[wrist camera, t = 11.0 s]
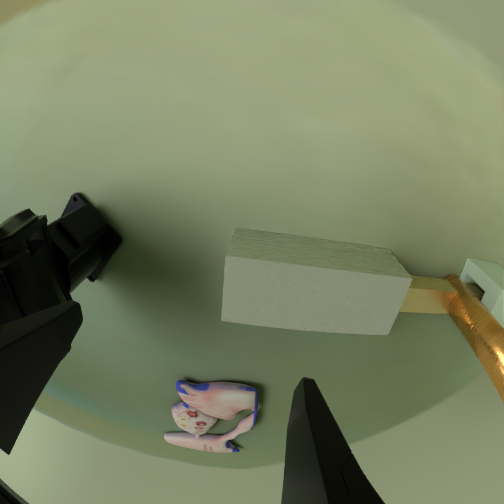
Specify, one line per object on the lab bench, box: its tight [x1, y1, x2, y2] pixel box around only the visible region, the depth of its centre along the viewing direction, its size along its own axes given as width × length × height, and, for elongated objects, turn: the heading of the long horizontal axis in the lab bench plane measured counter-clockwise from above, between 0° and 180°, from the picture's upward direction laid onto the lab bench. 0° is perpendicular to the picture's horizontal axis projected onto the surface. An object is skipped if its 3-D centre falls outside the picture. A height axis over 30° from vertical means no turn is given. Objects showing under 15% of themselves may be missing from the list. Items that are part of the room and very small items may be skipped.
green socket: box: [459, 258, 504, 328], centre depth 19 cm, size 6×6×6 cm
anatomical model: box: [164, 380, 258, 453], centre depth 32 cm, size 20×3×15 cm
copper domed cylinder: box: [399, 274, 504, 403], centre depth 15 cm, size 20×3×13 cm, turn 84°
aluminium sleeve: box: [221, 228, 413, 335], centre depth 19 cm, size 12×5×5 cm, turn 84°
